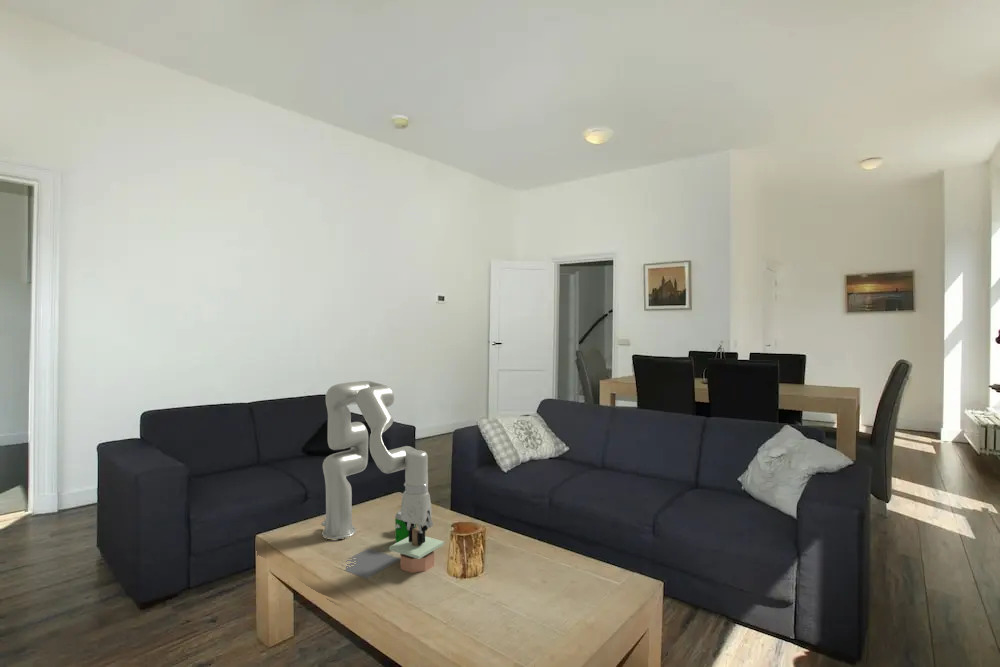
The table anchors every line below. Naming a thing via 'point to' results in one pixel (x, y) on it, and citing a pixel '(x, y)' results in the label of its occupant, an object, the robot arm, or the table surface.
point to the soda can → (400, 528)
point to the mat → (370, 563)
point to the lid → (416, 545)
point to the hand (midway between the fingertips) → (416, 541)
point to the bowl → (417, 563)
